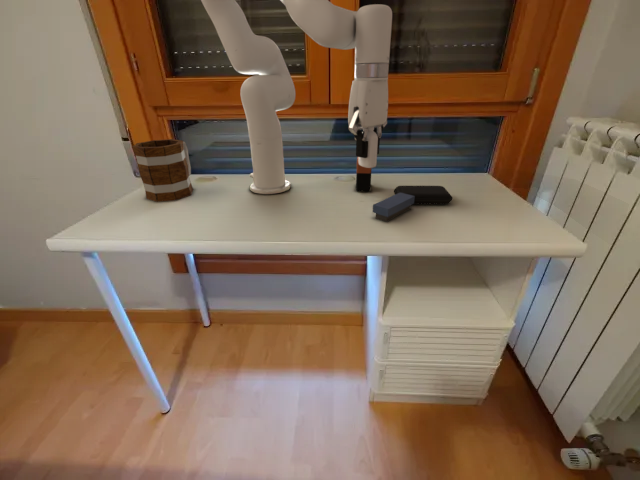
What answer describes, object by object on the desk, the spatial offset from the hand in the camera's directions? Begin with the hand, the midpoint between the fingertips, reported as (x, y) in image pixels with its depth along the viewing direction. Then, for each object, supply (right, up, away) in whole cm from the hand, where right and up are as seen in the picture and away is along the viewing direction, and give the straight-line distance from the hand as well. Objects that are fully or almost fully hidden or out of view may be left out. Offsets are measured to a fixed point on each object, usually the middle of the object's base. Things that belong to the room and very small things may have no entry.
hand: (367, 154), depth 80 cm
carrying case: (+16, -10, +10) cm, 22 cm away
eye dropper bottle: (0, -3, +1) cm, 3 cm away
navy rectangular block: (+7, -15, +1) cm, 16 cm away
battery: (+1, -6, +19) cm, 20 cm away
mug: (-57, -6, +20) cm, 61 cm away
